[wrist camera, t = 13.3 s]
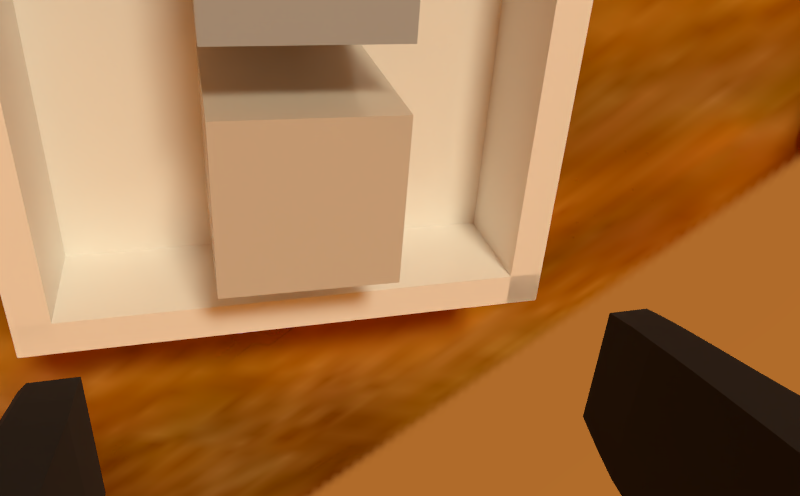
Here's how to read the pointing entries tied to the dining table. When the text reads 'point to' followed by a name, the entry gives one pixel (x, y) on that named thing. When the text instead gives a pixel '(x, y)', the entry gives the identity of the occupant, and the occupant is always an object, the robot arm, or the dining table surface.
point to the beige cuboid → (302, 168)
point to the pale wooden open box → (186, 181)
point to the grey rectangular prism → (305, 22)
